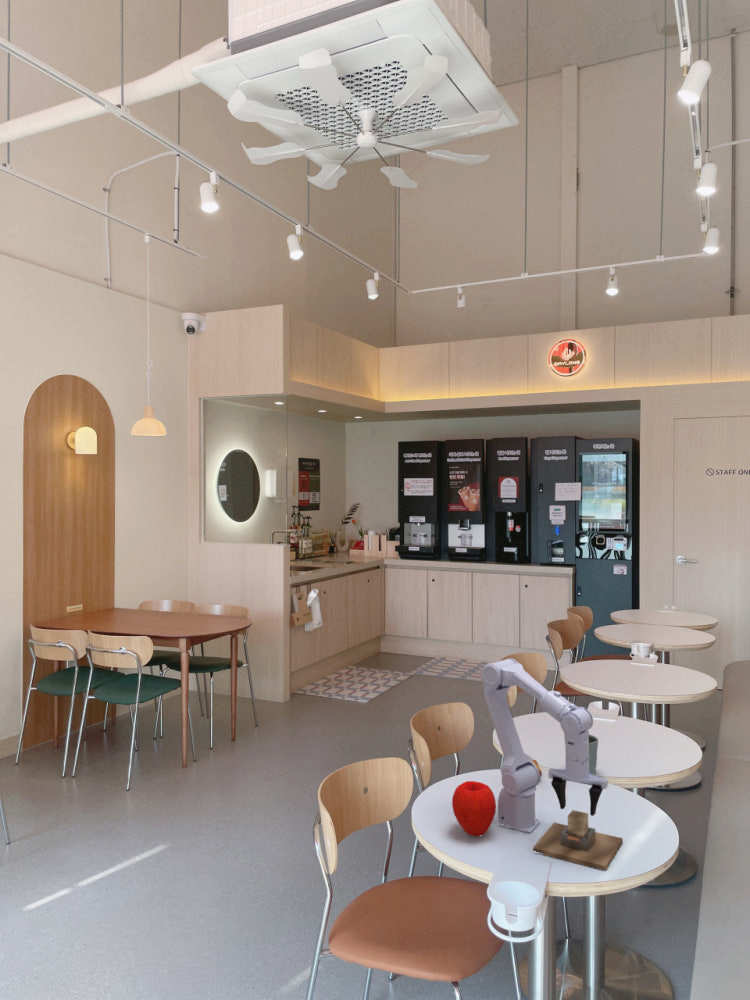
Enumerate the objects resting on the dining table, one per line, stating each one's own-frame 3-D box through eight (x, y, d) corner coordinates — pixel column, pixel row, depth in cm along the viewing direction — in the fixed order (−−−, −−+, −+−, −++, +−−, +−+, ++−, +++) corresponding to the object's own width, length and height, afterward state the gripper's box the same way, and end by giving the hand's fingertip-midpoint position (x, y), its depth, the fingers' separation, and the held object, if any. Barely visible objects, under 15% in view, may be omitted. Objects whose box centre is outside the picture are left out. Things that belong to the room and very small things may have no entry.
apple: (444, 827, 202) (443, 778, 202) (482, 820, 206) (482, 771, 206) (464, 847, 191) (463, 795, 191) (505, 839, 195) (504, 788, 195)
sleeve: (560, 846, 188) (559, 834, 188) (569, 834, 195) (569, 822, 194) (587, 852, 185) (586, 840, 185) (595, 840, 191) (595, 828, 191)
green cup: (564, 780, 232) (563, 741, 232) (565, 768, 242) (565, 731, 242) (598, 783, 229) (598, 744, 229) (598, 771, 239) (598, 733, 239)
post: (567, 843, 189) (567, 816, 189) (572, 836, 193) (572, 809, 193) (583, 847, 187) (583, 819, 187) (588, 840, 191) (588, 813, 190)
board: (532, 852, 188) (532, 847, 188) (554, 826, 201) (554, 822, 201) (605, 871, 178) (605, 866, 178) (622, 842, 192) (622, 838, 192)
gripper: (610, 757, 189) (611, 810, 189) (554, 747, 197) (555, 798, 197) (602, 766, 183) (603, 821, 183) (545, 756, 191) (546, 809, 191)
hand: (577, 810), depth 190 cm, fingers open, 7 cm apart
